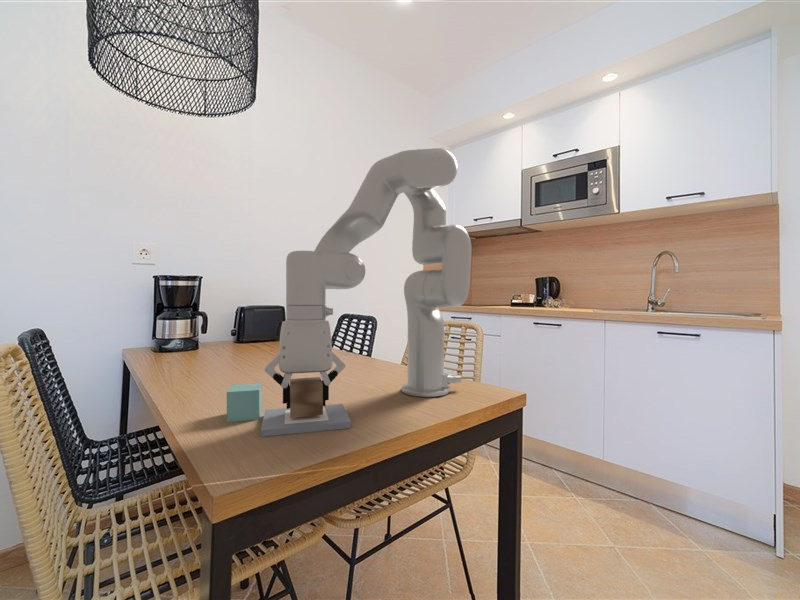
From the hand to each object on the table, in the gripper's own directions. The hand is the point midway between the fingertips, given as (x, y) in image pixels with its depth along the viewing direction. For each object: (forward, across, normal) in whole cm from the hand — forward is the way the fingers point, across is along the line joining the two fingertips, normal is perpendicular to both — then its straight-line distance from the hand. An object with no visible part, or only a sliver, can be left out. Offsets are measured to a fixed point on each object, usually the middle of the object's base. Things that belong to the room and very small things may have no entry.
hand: (305, 404), depth 74 cm
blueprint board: (+3, 0, 0) cm, 3 cm away
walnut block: (+1, 0, 0) cm, 1 cm away
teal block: (+3, +12, -7) cm, 14 cm away
